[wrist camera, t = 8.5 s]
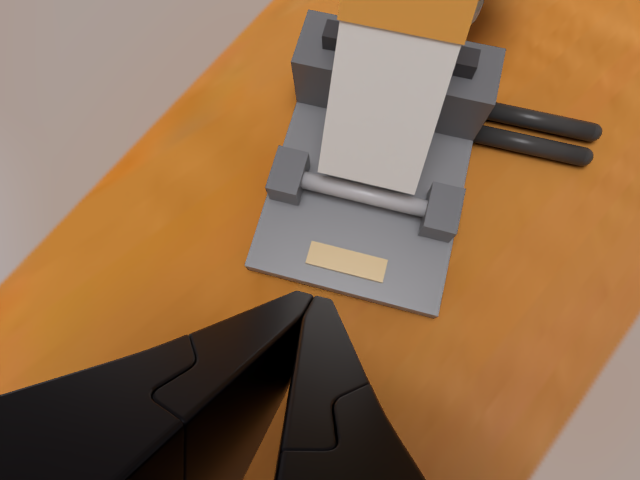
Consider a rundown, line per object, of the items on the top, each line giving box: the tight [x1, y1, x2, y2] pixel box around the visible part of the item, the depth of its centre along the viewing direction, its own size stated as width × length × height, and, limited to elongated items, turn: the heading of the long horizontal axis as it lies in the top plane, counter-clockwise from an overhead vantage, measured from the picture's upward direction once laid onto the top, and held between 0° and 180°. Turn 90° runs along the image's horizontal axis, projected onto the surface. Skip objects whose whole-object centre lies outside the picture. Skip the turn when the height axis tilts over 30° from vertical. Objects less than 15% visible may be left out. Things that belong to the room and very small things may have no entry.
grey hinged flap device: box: [245, 10, 602, 318], centre depth 22 cm, size 13×17×5 cm
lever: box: [318, 0, 478, 195], centre depth 19 cm, size 2×5×9 cm
